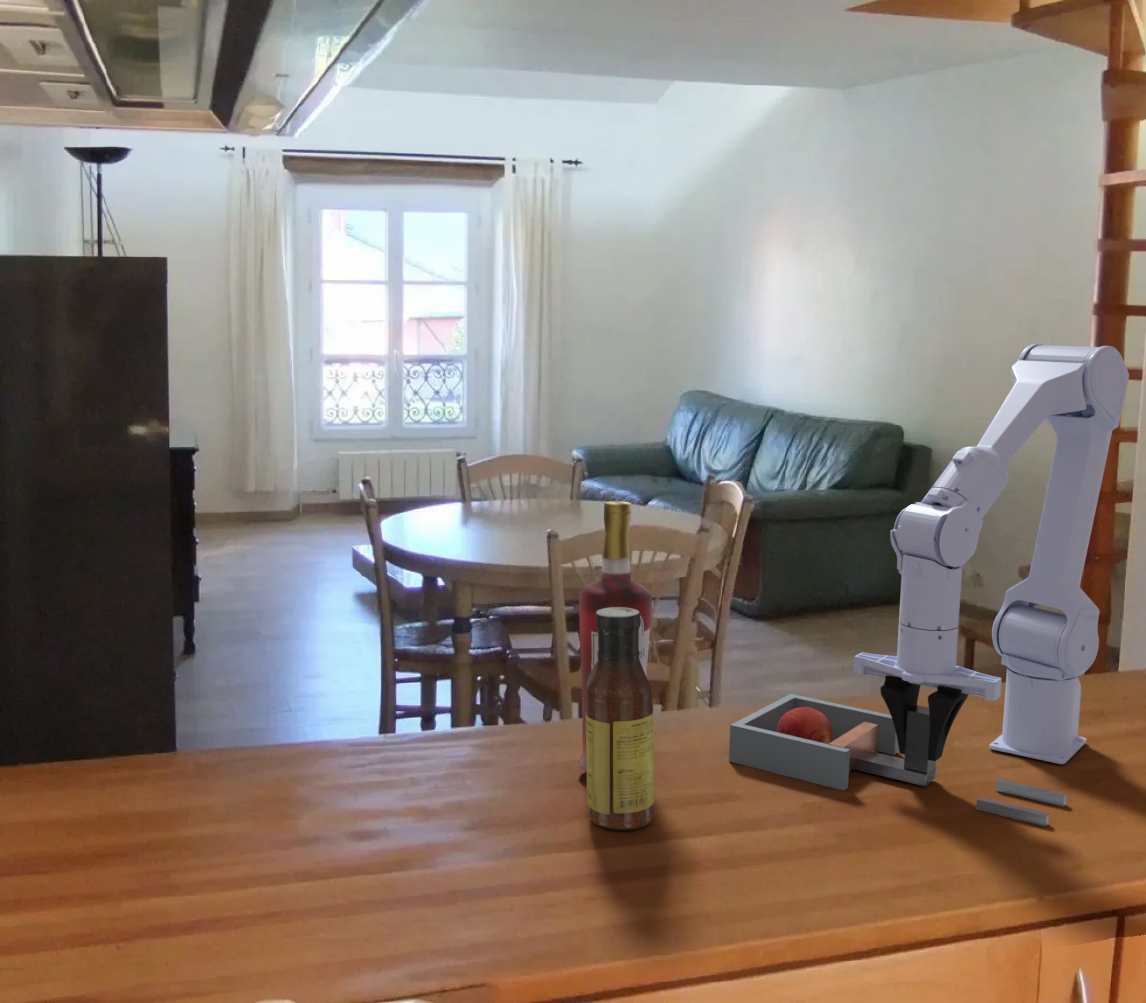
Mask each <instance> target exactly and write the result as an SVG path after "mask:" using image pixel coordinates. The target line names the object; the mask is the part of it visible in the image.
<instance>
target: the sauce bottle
mask: <svg viewBox="0 0 1146 1003" xmlns="http://www.w3.org/2000/svg"><path fill="white" fill-rule="evenodd" d="M640 625H641V622H640V612H639V611H638V610H636V609H631V608H627V607H610V608H604V609H600V610H598V611H597V612H596V627H597V629H598V652H597V655H598V661H597V663H596V664H595V666H594V668H593V669H592V671H591V673H590V674H589V676H588V679H587V687H586V695H587V711H586V751H587V773H586V804H587V806H588V814H589V817H590V820H591V821H592V823H593V824H594V825H596V826H600V827H603V828H606V829H608V830H611V831H633V830H637V829H641V828H643V827H646V826H647V825H649V824H650V822H651V821H652V819H653V817H654V803H655V761H654V760H655V759H654V758H655V757H654V755H655V754H654V753H655V752H654V750H655V748H654V747H655V746H654V745H655V744H654V742H655V740H654V705H653V697H652V696H653V695H652V686H651V684H650V681H649V680H648V678H647V674H646V675H645V673H644V670H643V668H642V665H641V663H640V659H639V655H640V652H639V648H638V647H639V645H638V643H639V640H638V638H639V636H638V633H639V632H638V631H639V627H640Z"/></svg>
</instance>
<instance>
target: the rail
mask: <svg viewBox="0 0 1146 1003" xmlns="http://www.w3.org/2000/svg"><path fill="white" fill-rule="evenodd" d="M995 784H996V786H995V787H996V788H995V791H996V792H999V793H1003V794H1006V795H1011V796H1016V797H1020V798H1025V799H1029V800H1032V801H1035V802H1036V801H1038V802H1041V803H1046V804H1049V805H1054V806H1056V807H1057V806H1058V807H1062V808H1064V807H1065V806H1066V804H1067V794H1064V793H1061V792H1056V791H1052V790H1048V789H1044V788H1039V787H1034V786H1032V785H1031V786H1030V785H1026V784H1022V783H1018V782H1014V781H1010V780H1005V779H1002V778H1000V779H997V780H996V783H995ZM975 806H976V807H975V809H976V810H977V811H981V812H985V813H988V814H993V815H997V816H1001V817H1005V818H1010V819H1013V820H1018V821H1021V822H1026V823H1029V824H1034V825H1037V826H1042V827H1045V828H1046V827H1047V826H1048V825H1049V819H1050V814H1049V813H1047V812H1043V811H1039V810H1035V809H1032V808H1028V807H1027V808H1025V807H1022V806H1018V805H1014V804H1010V803H1005V802H1002V801H998V800H994V799H989V798H986V797H981V796H979V797H978V798H977V799H976V804H975Z"/></svg>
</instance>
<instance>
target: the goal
mask: <svg viewBox="0 0 1146 1003" xmlns="http://www.w3.org/2000/svg"><path fill="white" fill-rule="evenodd" d="M800 707H811V708H813V709H815V710H817V711H819V712H821V713H823V714H824V715H825V717H826V718H827V719H828V721H829V722H830V724H831V727H832V731H833V741H834V740H836V739H837V738H839V737H840V736H842V735H844V734H845V733H847V732H848V731H850V730H852V729H853V728H855V727H857V726H858V725H860V724H861V723H863V722H868V723H873V724H877V725H878V741H877V752H878V753H882V754H884V753H885V754H886V755H888V754H889V755H891V756H895V755H896V754H898V753H899V746H898V740H897V735H896V731H895V727H894V723H893V720H892V717H891V714H886V713H883V712H877V711H874V710H869V709H863V708H861V707H860V708H858V707H855V706H849V705H846V704H840V703H835V702H832V701H831V702H830V701H826V700H823V699H818V698H812V697H807V696H802V695H797V694H794V693H789V694H788V695H786V696H784V697H781V698H779V699H778V700H776V701H774V702H772V703H770V704H768V705H767V706H764V707H763V708H760V709H758V710H757V711H755V712H752V713H751V714H749V715H747V716H745V717H743V718H741V719H739V720H737V721H735V722H733V723H731V724H730V726H729V728H730V729H729V750H728V752H729V753H728V762H729V763H735V764H738V765H741V766H742V765H743V766H746V767H750V768H755V769H756V770H761V771H765V772H770V773H774V774H778V775H781V776H786V777H789V778H793V779H797V780H801V781H805V782H809V783H812V784H817V785H819V786H820V785H821V786H824V787H829V788H832V789H836V790H840V791H845V790H847V789H848V788H849V778H850V777H849V775H850V772H849V761H850V749H846V748H842V747H838V746H833V745H829V744H825V743H821V742H816V741H812V740H808V739H804V738H799V737H795V736H791V735H786V734H782V733H778V732H776V731H777V726H778V723H779V721H780V719H781V717H782V716H783V715H784V714H785V713H786V712H788V711H790V710H792V709H795V708H800Z"/></svg>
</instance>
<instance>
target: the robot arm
mask: <svg viewBox="0 0 1146 1003" xmlns="http://www.w3.org/2000/svg"><path fill="white" fill-rule="evenodd" d="M1010 369H1011V371H1010V386H1011V388H1010V391H1009V392H1008V394H1007V396H1006V398H1005V399H1004V401H1003V402H1002V404H1001V406H1000V407H999V408H998V411H997V412H996V413H995V415H994V417H993V419H992V421H991V422H990V423H989V424H988V427H987V428H986V429H985V431H984V433H983V436H981V438H980V440H979V442H978V443H977V445H974V446H964V447H962V448H961V449H959V450H957V452H956V453H955V454H954V456H952V459H951V461H950V462H949V463H948V464H947V466H946V468H945V469H944V470H943V472H942V473H941V474H940V475H939V477H938V478H937V479H936V481H935V482H934V484H933V485H932V486H931V488H930V489H929V490H928V492H926V494H925V495H924V497H923V498H922V500H921V501H919V502H916V501H915V502H914V504H913V503H912V504H911V503H910V505H908V506H907V507H905V508H903V509H902V510H901V511H900V512H899V513H898V515H897V517H896V519H895V522H894V524H893V525H894V526H893V529H891V530H890V542H891V546H892V549H893V550H894V552H895V554H896V559H897V560H896V561H897V562H896V569H897V570H898V574H900V575H901V580H900V598H899V599H900V600H899V613H898V614H899V615H898V635H897V636H898V637H897V647H896V648H897V649H896V650H897V651H896V655H885V654H878V653H877V654H875V653H867V652H863V651H862V652H859V653H858V654H856V655H854V657H853V673H852V674H853V675H857V676H865V675H867V676H872V677H877V678H882V679H883V678H884V683H883V685H881V686H880V696H881V697H882V700H883V701H884V703H885V704H886V707H887V709H888V711H889V715H891V717H892V720H893V723H894V727H895V731H896V735H897V740H898V753H899V754H902V755H905V742H906V726H907V710H909V709H911V708H912V707H914V706H915V705H918V700H919V695H920V689H921V686H924V687H928V688H929V687H930V688H934V689H937V690H936V691H934V692H932V693H930V694H929V695H927V703H928V707H929V714H930V736H929V746H928V758H929V760H931V761H936V762H937V761H938V760H939V759H940V758H942V757H943V752H944V748H945V744H946V742H947V739H948V735H949V732H950V731H951V728H952V726H953V723H954V721H955V720H956V717H957V716H958V713H959V712H960V710H961V708H962V707H963V705H964V704H965V702H966V700H967V699H968V697H969V695H971V696H974V697H975V696H977V697H980V698H983V700H985V701H989V702H995V701H997V700H999V699H1000V697H1001V695H1002V694H1001V693H1002V680H1003V679H1002V677H998V676H994V675H989V674H986V673H982V672H978V671H976V670H972V669H969V668H965V667H962V666H959V665H957V657H958V656H957V653H958V641H959V640H958V638H959V637H958V636H959V624H960V623H959V621H960V610H961V609H960V606H961V592H962V591H961V590H962V577H963V576H962V575H963V565H964V564H966V563H967V562H968V561H969V560H970V559H971V558H972V557H973V556H974V555H975V552H976V550H977V547H978V543H979V539H980V538H979V537H980V532H981V530H982V528H983V524H984V520H983V518H984V516H985V515H986V514H987V513H988V511H989V510H990V508H992V506H993V504H994V503H995V501H996V500H997V499H998V497H999V496H1000V494H1001V493H1002V491H1003V490H1004V488H1006V486H1007V485H1008V483H1009V481H1010V472H1009V469H1008V463H1009V462H1010V461H1011V460H1012V459H1013V457H1014V456H1015V455H1016V454H1017V453H1018V451H1019V450H1020V449H1021V448H1022V447H1023V446H1024V445H1025V444H1026V442H1027V441H1029V439H1030V437H1032V435H1034V433H1035V432H1036V431H1037V430H1038V429H1039V427H1040V426H1041V425H1042V424H1043V423H1044V422H1045V423H1046V424H1049V425H1050V426H1051V427H1052V429H1053V431H1054V432H1055V435H1056V437H1057V438H1056V439H1057V441H1056V444H1055V450H1054V454H1053V459H1052V464H1051V468H1050V474H1049V476H1048V477H1049V478H1048V482H1047V488H1046V492H1045V498H1044V501H1043V502H1044V503H1043V507H1042V510H1041V511H1042V512H1041V516H1040V522H1039V526H1038V531H1037V535H1036V540H1035V544H1034V545H1035V546H1034V550H1033V551H1034V552H1033V554H1032V559H1031V565H1030V569H1029V573H1028V577H1026V578H1025V579H1023V580H1022V581H1019V583H1016V584H1015V585H1013V586H1012V587H1010V588H1008V589H1007V590H1006V591H1005V596H1004V600H1003V602H1002V603H1003V604H1002V606H1001V608H1000V609H999V611H998V613H997V615H996V616H995V619H994V620H993V624H992V628H991V637H992V645H993V648H994V649H995V651H996V653H997V654H998V655H1000V656H1001V665H1003V666H1006V680H1005V690H1004V691H1005V692H1004V704H1003V705H1004V706H1003V707H1004V708H1003V719H1002V733H1001V734H1000V735H999V736H998V737H997V738H995V739H994V740H993V741H992V742H991V743H990V744H989V749H991V750H993V751H999V752H1003V753H1009V754H1012V755H1017V756H1021V757H1025V758H1030V759H1034V760H1040V761H1044V762H1048V763H1049V762H1050V763H1052V764H1053V763H1054V764H1058V765H1065V764H1066V763H1067V762H1068V761H1070V759H1071V758H1072V757H1073V756H1074V755H1075V754H1076V753H1077V752H1078V751H1079V750H1080V749H1081V748H1082V747H1083V746H1084V745H1086V743H1087V738H1086V737H1083V736H1081V735H1080V736H1079V735H1078V733H1079V723H1080V722H1079V720H1080V711H1081V710H1080V708H1081V696H1082V686H1081V681H1080V678H1079V677H1081V676H1084V675H1085V672H1087V670H1089V669H1090V668H1091V666H1092V665H1093V663H1094V662H1095V660H1096V658H1097V655H1098V651H1099V646H1100V638H1099V631H1098V630H1099V627H1098V626H1099V616H1100V612H1101V611H1100V609H1099V607H1098V606H1097V604H1095V602H1093V600H1092V599H1090V597H1089V596H1088V595H1087V594H1086V593H1085V591H1084V590H1083V589H1082V588H1081V584H1082V583H1081V580H1082V577H1083V572H1084V567H1085V562H1086V559H1087V558H1086V557H1087V554H1088V549H1089V548H1088V547H1089V544H1090V539H1091V534H1092V530H1093V524H1094V520H1095V515H1096V511H1097V506H1098V501H1099V496H1100V491H1101V487H1102V483H1103V477H1104V472H1105V468H1106V462H1107V458H1108V455H1109V454H1108V453H1109V448H1110V445H1111V444H1110V443H1111V439H1112V435H1113V431H1114V430H1116V429H1118V427H1119V425H1120V421H1121V417H1122V413H1123V407H1124V403H1125V398H1126V394H1127V388H1128V384H1129V381H1130V380H1129V378H1130V373H1129V371H1128V368H1127V366H1126V364H1125V361H1124V359H1123V356H1122V355H1121V353H1120V352H1119V350H1118V349H1117V348H1116V347H1114V346H1110V345H1102V346H1077V345H1076V346H1075V345H1049V344H1048V345H1046V344H1042V343H1032V344H1030V345H1028V346H1026V347H1025V348H1024V349H1023V351H1022V352H1021V353H1020V355H1019V357H1018V358H1017V361H1016V362H1015V363H1014V364H1013V365H1012V366H1011V368H1010ZM1040 605H1041V606H1044V607H1048V608H1053V609H1057V610H1060V611H1061V612H1063V613H1059V612H1055V611H1050V610H1046V609H1043V608H1038V606H1040Z"/></svg>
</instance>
